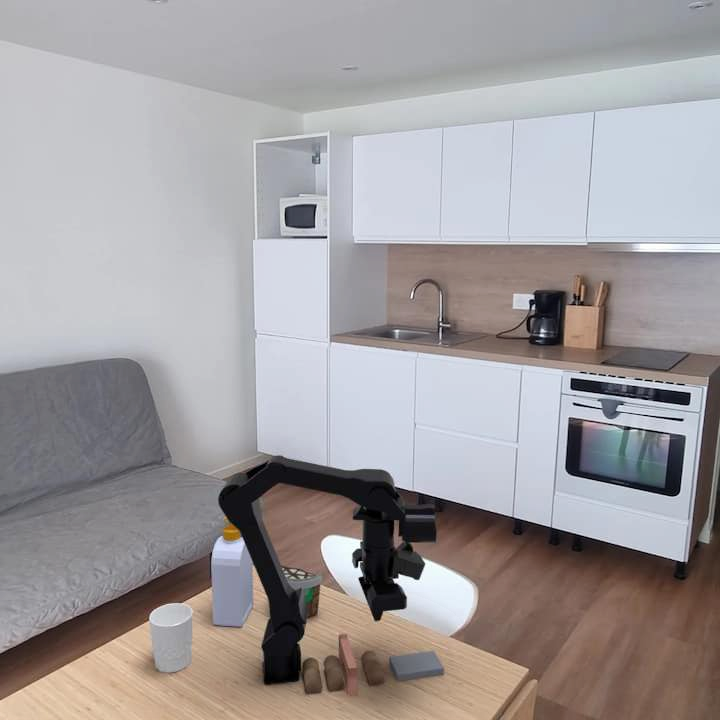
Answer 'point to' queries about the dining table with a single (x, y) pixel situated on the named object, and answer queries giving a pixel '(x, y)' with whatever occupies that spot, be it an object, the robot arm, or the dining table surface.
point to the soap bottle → (231, 579)
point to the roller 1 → (312, 676)
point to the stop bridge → (348, 664)
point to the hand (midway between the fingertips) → (377, 620)
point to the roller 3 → (372, 668)
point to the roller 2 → (334, 673)
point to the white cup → (171, 636)
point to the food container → (305, 586)
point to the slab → (416, 666)
